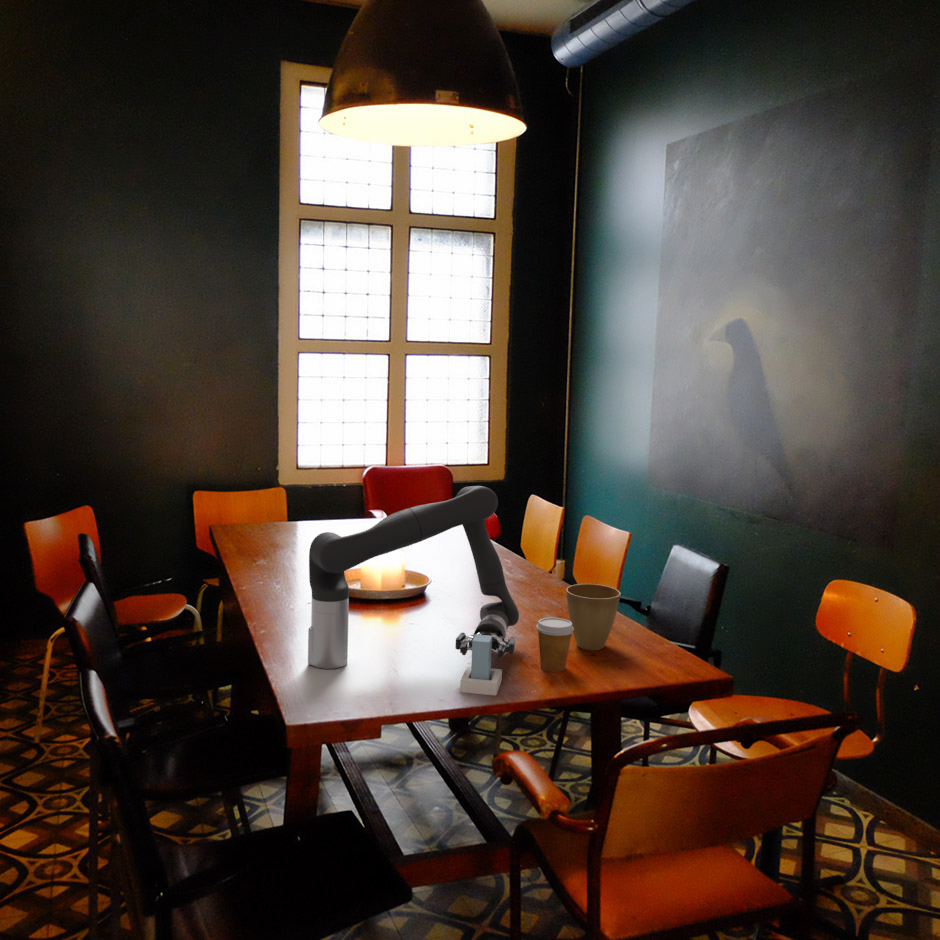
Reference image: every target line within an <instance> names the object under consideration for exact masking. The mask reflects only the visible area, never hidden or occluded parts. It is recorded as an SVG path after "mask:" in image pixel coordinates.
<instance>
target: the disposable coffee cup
mask: <svg viewBox="0 0 940 940" xmlns="http://www.w3.org/2000/svg"><path fill="white" fill-rule="evenodd" d="M537 622H538V623H537V624H536V629H537V633H538V635H537V636H538V646H539V659H540V660H539V661H540V668H541V669H543V670H544V671H546V672H547V671H548V672H551V671H552V672H554V673H555V672H558V671H559V672H563V671H565V670H566V667H567V660H568V656H569V650H570V645H571V637H572V634H573V630H574V628H573V626H572V622H571V621H570V619H569V620H568V619H565V618H562V617H561V618H559V617H544V618H541V619H539V620H538V621H537ZM552 672H551V673H552Z"/></svg>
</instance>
